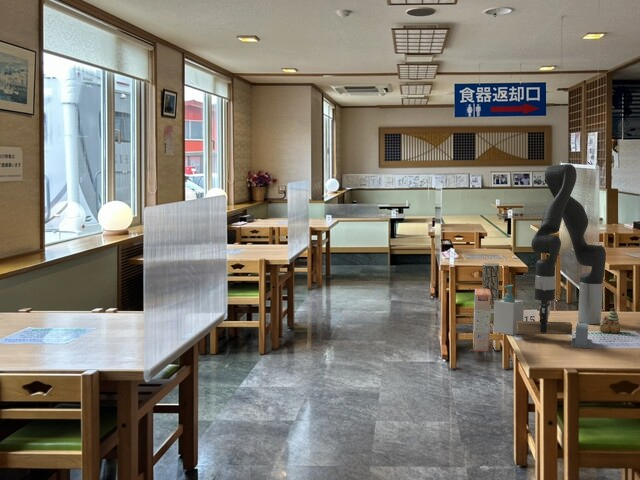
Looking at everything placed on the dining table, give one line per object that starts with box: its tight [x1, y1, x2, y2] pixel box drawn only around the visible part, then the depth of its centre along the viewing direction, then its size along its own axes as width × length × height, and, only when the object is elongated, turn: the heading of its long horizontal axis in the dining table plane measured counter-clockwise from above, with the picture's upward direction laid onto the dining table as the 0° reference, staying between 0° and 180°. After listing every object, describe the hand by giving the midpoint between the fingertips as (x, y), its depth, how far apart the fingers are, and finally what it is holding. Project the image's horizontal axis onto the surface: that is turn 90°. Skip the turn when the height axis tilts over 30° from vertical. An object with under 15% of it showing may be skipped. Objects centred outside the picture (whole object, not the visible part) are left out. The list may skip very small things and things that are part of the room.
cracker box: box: [472, 288, 491, 353], centre depth 260 cm, size 14×6×21 cm, turn 168°
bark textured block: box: [481, 262, 500, 323], centre depth 305 cm, size 7×7×25 cm
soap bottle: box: [493, 284, 525, 336], centre depth 285 cm, size 9×9×19 cm
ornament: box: [599, 307, 621, 334], centre depth 286 cm, size 8×6×10 cm
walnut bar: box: [516, 320, 573, 336], centre depth 273 cm, size 4×20×4 cm, turn 81°
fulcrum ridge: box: [570, 322, 593, 349], centre depth 266 cm, size 10×7×7 cm
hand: (544, 330), depth 273 cm, fingers closed on walnut bar, 4 cm apart
